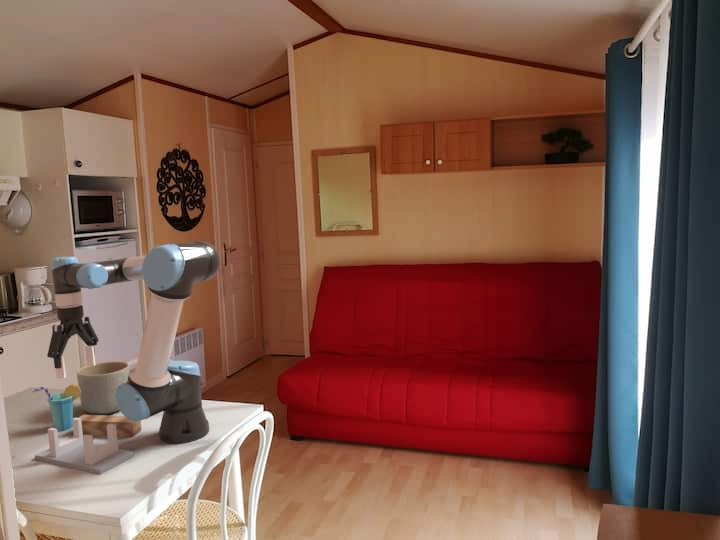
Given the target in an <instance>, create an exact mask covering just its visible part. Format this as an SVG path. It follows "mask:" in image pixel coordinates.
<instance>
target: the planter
mask: <svg viewBox="0 0 720 540" xmlns="http://www.w3.org/2000/svg"><path fill="white" fill-rule="evenodd" d="M129 371H130V365H129V363H128V362H125V361H119V360H118V361H115V360H114V361H113V360H112V361H111V360H110V361H103V362H95V366H87V365H85V366H82V367H80V368H78V369H77V370H76V379H77V386H79V388H80V390H81V394H80V397H79V400H80V401H79V402H80V404H81V407H82V408H83V410H85V411H86V412H87V413H89V414H90V415H109V414H114V413H116V412H120V409H119V407H118V405H117V402H116V389H117V387H118V386H119V385H121V384H122V383H126V382H127V380H128V376H129Z"/></svg>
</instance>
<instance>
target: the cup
mask: <svg viewBox="0 0 720 540" xmlns="http://www.w3.org/2000/svg"><path fill="white" fill-rule="evenodd" d="M42 390H44V391H45V393H46V395H47V396H48V398H47V399H46V400H47V403H48V404H49V409H50V414H51V419H52V423H53V428H55V429H57V432H63V431H68V430H70V429H72V428H73V423H72V419H73V418H74V416H73V415H74V401H75V400H77V399H78V398H79V399H80V394H81V390H80V388H79V386H78V385H75V384H70V385H68V386H66V387H65V389H64V392H61V393H56V394H53V395H52V394H51V392H50V391H49V389H48V388H47V387H45V386H41V387H38V388H34V389H32V390H31V391H32V393H36V392H39V391H42Z"/></svg>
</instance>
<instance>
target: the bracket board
mask: <svg viewBox="0 0 720 540" xmlns="http://www.w3.org/2000/svg"><path fill="white" fill-rule="evenodd" d="M72 423H73V426H72V431H73V433H72V434H73V436H72V437H70V438H67V439H65V440H62V441H61V442H59V435H58V434H59V433H58V432H59V431H57V429H55V428H54V427H50V428H48V429H47V437H48V445H49V446H48V447H49V448H47V449H46V450H43V451H40V452H38V453H37V454H34V458H35V459H34V460H37V461H43V462H46V463H51V464H55V465H60V466H63V467H68V468H73V469H77V470H81V471H86V472H91V473H93V474H94V473H95V474H98V475H102V474H104V473H106V472H107V471H109V470H111V469H113V468H115V467H116V466H118V465H120V464H123V463H124V462H126V461H127V460H129V459H131V458H132V457H134V456H135V451H133V450H127V449H121V448H119V442H118V436H117V431H116V425H114V424H108V425H107V436H106V437H107V443H106V444H104V445H102V444H98V443H94V439H93V437H94V435H83V432H82V422H81V418H79V417H73V419H72Z"/></svg>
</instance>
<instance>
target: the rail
mask: <svg viewBox="0 0 720 540" xmlns="http://www.w3.org/2000/svg"><path fill="white" fill-rule="evenodd" d="M78 418H81V422H82V432H83V436H84V435H91V436H93V437H94V436H99V437H108V436H107V425H108V424H114V425H116V431H117V437H122V438H123V437H125V438H127V437H129V438H135V436H137V435H138V434H139V433H140V432H142V420H140V421H131V420H129V419H127V418H126V417H125V416H124V415H109V414H104V415H95V414H82V415H80V416H79V417H78Z"/></svg>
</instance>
